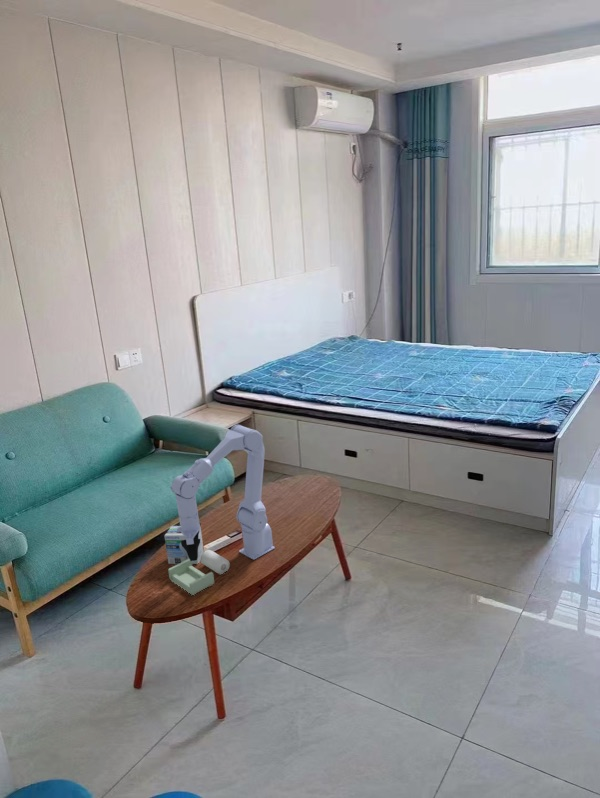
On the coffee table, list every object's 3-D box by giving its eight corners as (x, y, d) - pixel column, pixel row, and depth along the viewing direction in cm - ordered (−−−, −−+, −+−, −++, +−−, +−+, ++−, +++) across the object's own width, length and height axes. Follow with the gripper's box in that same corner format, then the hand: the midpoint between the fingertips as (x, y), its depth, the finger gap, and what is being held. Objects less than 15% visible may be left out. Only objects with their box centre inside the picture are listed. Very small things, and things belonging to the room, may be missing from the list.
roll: (201, 566, 191) (199, 553, 190) (213, 560, 195) (212, 547, 193) (217, 577, 185) (216, 563, 183) (230, 570, 188) (229, 556, 187)
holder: (169, 580, 185) (168, 569, 184) (191, 569, 190) (189, 558, 189) (192, 596, 176) (191, 584, 175) (214, 584, 181) (213, 572, 180)
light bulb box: (167, 564, 194) (163, 535, 191) (174, 553, 201) (170, 525, 197) (198, 564, 192) (194, 535, 189) (204, 553, 199) (201, 525, 196)
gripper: (176, 505, 184) (182, 543, 187) (173, 527, 170) (180, 568, 174) (198, 501, 184) (204, 540, 188) (197, 523, 171) (203, 564, 174)
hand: (194, 553), depth 181 cm, fingers open, 7 cm apart
